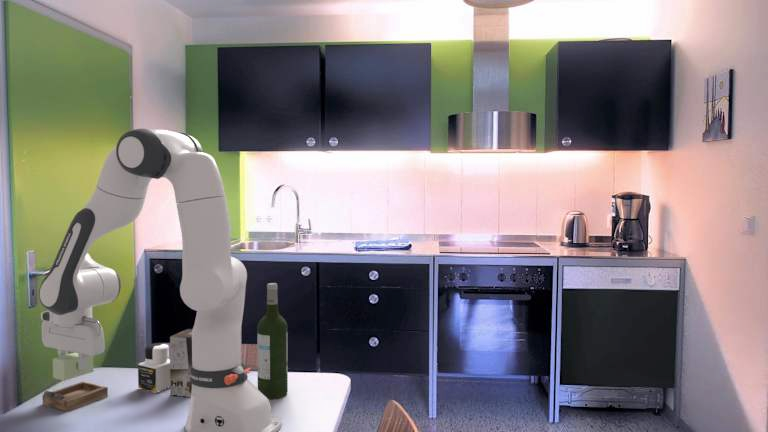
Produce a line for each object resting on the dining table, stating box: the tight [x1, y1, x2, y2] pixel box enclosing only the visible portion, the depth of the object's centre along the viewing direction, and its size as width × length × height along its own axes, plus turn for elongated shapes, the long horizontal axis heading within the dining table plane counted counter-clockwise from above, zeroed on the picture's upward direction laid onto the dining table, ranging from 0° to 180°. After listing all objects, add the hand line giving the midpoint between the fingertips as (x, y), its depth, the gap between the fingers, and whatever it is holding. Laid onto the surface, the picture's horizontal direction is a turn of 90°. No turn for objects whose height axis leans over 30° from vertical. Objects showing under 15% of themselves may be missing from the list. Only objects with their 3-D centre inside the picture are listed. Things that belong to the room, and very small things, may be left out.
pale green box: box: [52, 352, 94, 382], centre depth 142 cm, size 4×8×5 cm, turn 154°
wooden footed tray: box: [42, 381, 109, 412], centre depth 142 cm, size 10×12×4 cm
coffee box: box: [169, 328, 193, 398], centre depth 149 cm, size 9×6×16 cm
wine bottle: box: [256, 282, 289, 400], centre depth 147 cm, size 8×8×30 cm
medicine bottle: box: [137, 342, 170, 393], centre depth 152 cm, size 7×7×12 cm
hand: (73, 367), depth 142 cm, fingers closed on pale green box, 4 cm apart
